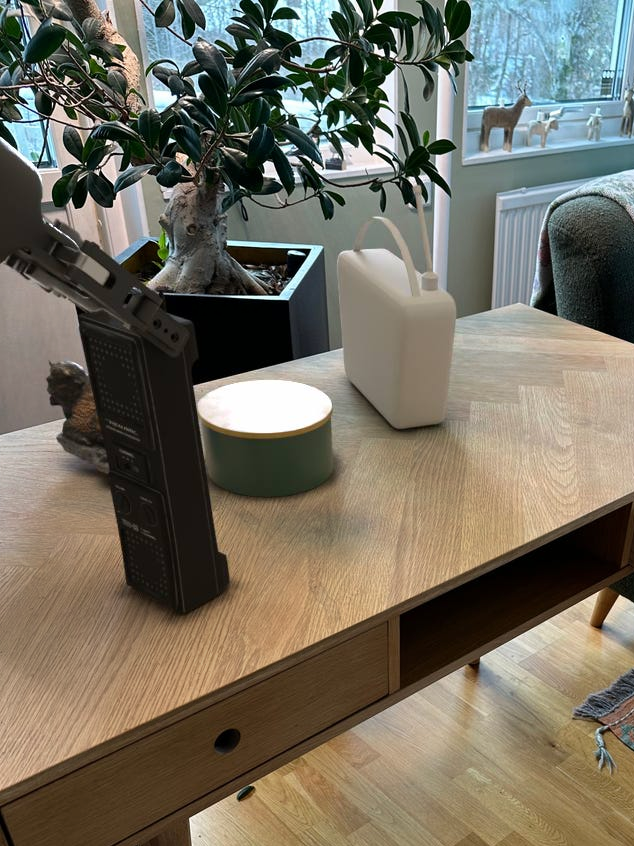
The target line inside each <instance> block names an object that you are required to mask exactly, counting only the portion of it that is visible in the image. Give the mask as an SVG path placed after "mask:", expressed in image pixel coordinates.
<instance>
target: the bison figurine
mask: <svg viewBox="0 0 634 846" xmlns="http://www.w3.org/2000/svg"><path fill="white" fill-rule="evenodd" d="M48 365H49V367H50V368H49V373H50V374H49V375H48V376H47V377H46V378H45V380H46V382H47V388H46V392H47V394H49V395H50V396H49V398H48V399H49V405H50V406H51V407H55V406H59V407H61V409H62V413H63V416H64V418H65V420H64V421H63V423H62V430H61V432H60V433H58V434H57V435H56V438H55V439H56V441H57V443H58V444H60V446H61V447H62V449H63V450H64V452H66V453H68V454H70V455H73V456H75V457H77V458H79V459H80V460H83V461H85V462H87V463H88V464H89V465H92V466H95V468H96V470H97V471H98V472H101V473H104V474H106V475H108V473H109V472H110V471H109V465H108V460H107V455H106V450H105V446H104V441H103V436H102V431H101V427H100V425H99V421H98V416H97V411H96V407H95V402H94V397H93V393H92V388H91V383H90V379H89V374H88V373H86V370H85V369H84V367H82V366H81V365H79V364H77V363H76V362H73V361H70V360H62V361H58V362H53V361H51V359H48Z"/></svg>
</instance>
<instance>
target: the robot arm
mask: <svg viewBox="0 0 634 846" xmlns="http://www.w3.org/2000/svg"><path fill="white" fill-rule="evenodd" d="M43 197H44V186H43V180H42V176H41V174H40V172H39V170H38V168H37V167H36V166H35V165H34V164H33V163H32V162H31V161H30V160H29V159H28V158H26V157H25V156H24V155H23V154H21V153H20V152H19V151H18V150H17V149H16V148H15V147H13V146H12V145H11V144H10V143H9V142H7V141H6V140H5V139H4V138H3V137H1V136H0V265H1V264H2V265H4V266H5V267H6V268H7V269H8V270H9V271H11V272H12V273H14V274H16V275H18V276H20V277H21V278H22V279H24V280H26V281H28V282H29V283H31V284H32V285H34V286H36V287H37V288H39V289H40V290H42V291H44V292H45V293H48V294H49V293H50V294H51V293H52V295H53V296H55V297H57V298H59V299H60V298H61V299H64V300H66V299H67V300H68V301H69V302H71V303H72V304H73V305H75V306H76V307H78V308H79V309H81V311H83V312H84V313H87V312H90V313H94V314H95V313H98V312H105V313H106V314H108V315H109V316H111V317H112V318H114V319H115V320H117V321H118V322H120V323H122V324H123V325H122V326H123V327H125V328H126V329H128V330H130V329H131V330H133V331H135V332H136V333H137V334H139V335H140V336H141V337H143V338H144V339H146V340H147V341H148V342H150V343H151V344H152V345H154V346H155V347H156V348H158V349H159V350H160V351H162V352H163V353H165V354H166V355H168V356H170V357H173V358H174V357H177V356H178V355H179V354H180V352H181V351H182V349H183V347H184V345H185V344H186V342H187V340H188V339H189V331H188V330H187V329H186V328H185V327H184V326H183V325H181V324H180V323H179V322H177V321H176V320H175V319H174V318H172V317H171V316H170V315H169V314H170V313H169V314H167V313H168V312H167V311H166V312H167V313H166V312H165V311H164V310H162V309H161V303H162V301H163V300H162V299H161V298H160V297H159V292H157V291H156V290H153V289H150V288H149V286H148V285H146V284H145V283H143V282H142V281H141V280H140V279H139V278H137V277H136V276H135V275H133V274H132V273H131V272H130V271H129V270H128V269H126V268H125V267H123V266H122V265H121V263H119V262H118V261H116V260H115V259H114V258H112V256H110V255H109V254H108V253H107V252H105V251H104V250H103V249H102V248H101V246H100V245H99V244H98V243H96V242H95V241H90V240H88V239H86V238H85V239H83V238H82V236H81V234H80V233H79V232H78V231H77V230H76V229H74V228H73V227H71V226H70V225H69V224H67V223H66V222H64V221H62V220H61V219H59V218H56V217H55V219H54V220H53V221H52V220H51V219H50V218H48V217H47V216H46V215H45V214H43V213H42V199H43ZM129 294H130V295H131V297H130V299H129V301H128V303H127V306H126V308H125V309H124V307H123V304H126V299H127V297H128V295H129Z"/></svg>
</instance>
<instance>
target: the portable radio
mask: <svg viewBox="0 0 634 846" xmlns="http://www.w3.org/2000/svg"><path fill="white" fill-rule="evenodd" d="M154 291H155V292H158V294H159V297H160V298H161V299H162V300H163V301H162V303H161V305H160V308H161V309H162V310H164V311H165V312H166V313H167V314H169V315H170V316H171V317H172V318H174V319H175V320H176V321H177V322H179V323H180V324H181V325H183V326H184V327H185V328H186V329H187V330H188V331H189V339H188V340H187V342H186V344H185V345H184V347H183V349H182V351H181V352H180V354H179V355H178V356H177V357H174V358H173V357H170V356H168V355H166V354H165V353H163V352H162V351H160V350H159V349H158V348H156V347H155V346H154V345H152V344H151V343H150V342H148V341H147V340H146V339H144V338H143V337H141V336H140V335H139V334H137V333H136V332H135V331H133V330H131V329H130V330H128V329H126V328H125V327H123V326H122V325H123V324H122V323H120V322H118V321H117V320H115V319H114V318H112V317H111V316H109V315H108V314H106V313H105V312H98V313H95V314H94V313H90V312H87V313H86V312H83V313H80V314H78V317H77V320H78V332H79V336H80V340H81V341H80V342H81V347H82V350H83V355H84V360H85V364H86V368H87V375H89V379H90V383H91V388H92V393H93V397H94V402H95V407H96V411H97V416H98V421H99V425H100V427H101V431H102V436H103V441H104V446H105V450H106V455H107V460H108V465H109V471H110V472H109V473H108V474H107V478H108V484H109V490H110V493H111V500H112V504H113V505H112V506H113V510H114V515H115V520H116V525H117V531H118V537H119V542H120V549H121V554H122V562H123V570H124V577H125V584H126V586H128V587H130V588H132V589H133V590H135V591H136V592H138V593H141V594H143V595H144V596H146V597H147V598H150V599H152V600H153V601H155V602H157V603H159V604H161V605H163V606H164V607H166V608H168V609H170V610H172V611H174V612H176V613H178V614H187V613H188V612H189V613H190V611H192V610H194V609H196V608H197V607H199V606H201V605H203V604H205V603H206V602H208V601H210V600H212V599H214V598H216V597H217V596H219V594H221V593H222V592H223V591H224V590H226V588H227V587H228V586H229V584H230V583H231V579H230V578H231V577H230V570H229V565H228V557H227V554H225V553H223V552H221V551H219V546H218V539H217V535H216V534H217V533H216V528H215V521H214V520H215V519H214V513H213V508H212V500H211V494H210V488H209V482H208V481H209V480H208V475H207V474H208V473H207V468H206V467H207V466H206V462H205V461H206V459H205V455H204V446H203V440H202V433H201V428H200V419H199V416H198V411H197V402H196V401H197V400H196V395H195V388H194V387H195V386H194V381H193V375H192V369H193V365H194V363H195V362H196V361H197V360H198V359H199V351H198V343H197V338H196V329H195V324H194V322H192V320H190V319H186V318H184V317H181V316H177V315H174V314H171V313H169V312H167V306H166V301H165V299H166V298H165V294H164V292H165V291H166V287H163V286H161V287H160V286H159V287H156V288H154ZM127 304H128V303H127ZM127 304H123V307H124V309H125V308H126V306H127Z"/></svg>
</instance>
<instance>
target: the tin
mask: <svg viewBox="0 0 634 846" xmlns="http://www.w3.org/2000/svg"><path fill="white" fill-rule="evenodd" d="M196 407H197V413H198V420H199V421H200V425H201V432H202V439H203V447H204V453H205V461H206V467H207V468H206V469H207V474H208V477H209V478H210V479H211V481H212V482H213V483H214V484H215V485H216V486H218V487H220V488H221V489H223V490H225V491H227V492H230V493H234V494H238V495H243V496H246V497H256V498H258V497H259V498H276V497H285V496H286V497H287V496H292V495H297V494H301V493H305V492H307V491H310V490H312V489H315V488H318V487H319V486H320V485H322V484H324V483H325V482H326V481H327V480H328V479H329V478H330V477H331V475H332V474H333V470H334V453H333V431H332V429H333V428H332V416H333V413H334V411H333V410H334V408H333V401H332V400H331V398H330V397H329V396H328V395H327V394H326V393H325V392H324V391H322V390H320V389H318V388H316V387H314V386H311V385H307V384H304V383H300V382H293V381H287V380H279V379H278V380H275V379H260V380H258V379H257V380H246V381H240V382H236V383H231V384H227V385H224V386H221V387H217V388H216V389H213V390H212V391H210V392H208V393H206V394H205V395H203V396H202V398H200V399H199V401H198V403H197V405H196Z"/></svg>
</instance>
